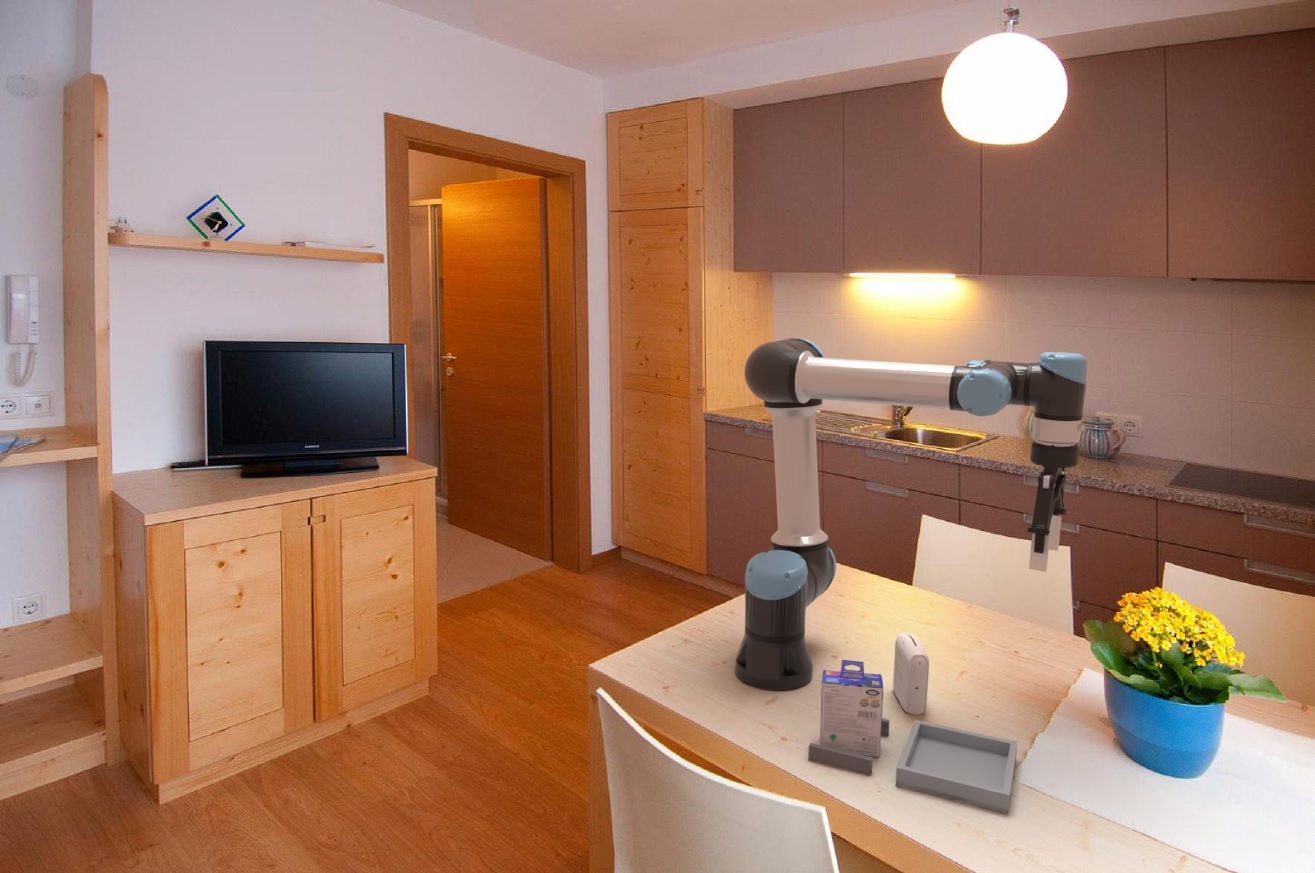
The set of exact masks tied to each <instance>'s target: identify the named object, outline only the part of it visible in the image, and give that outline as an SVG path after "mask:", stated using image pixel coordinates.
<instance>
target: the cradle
mask: <svg viewBox="0 0 1315 873" xmlns="http://www.w3.org/2000/svg"><path fill="white" fill-rule="evenodd" d="M890 722H891V720H890V719H887V718H883V717H882V729H881V736H886V737H888V736H889V735H890ZM807 759H808V761H811V762H816V763H819V764H823V765H827V766H830V767H835V768H838V769H842V770H843V769H844V770H847V771H852V772H856V773H860V774H863V775H868V776H872V774H873V763H874V758H873V756H865V755H860V754H855V753H851V752H847V751H843V750H839V749H835V748H831V747H827V746H822V745H820V744H818V743H813V742H809V745H808V757H807Z"/></svg>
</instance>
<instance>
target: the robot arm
mask: <svg viewBox="0 0 1315 873" xmlns="http://www.w3.org/2000/svg"><path fill="white" fill-rule="evenodd" d="M1087 360H1088V359H1087V358H1086V356H1084V355H1083V354H1081V353H1077V352H1075V353H1074V352H1063V351H1061V352H1060V351H1058V352H1056V351H1055V352H1054V351H1050V352H1049V351H1048V352H1047V351H1046V352H1042V353H1041V354H1040V355H1039V358H1038V360H1037V361H1038V362H1029V363H1027V362H1015V361H1014V362H1013V361H999V360H998V361H997V360H991V359H985V360H984V359H983V360H970V361H968V363H967V364H966V365H951V364H950V365H948V364H931V363H918V362H917V363H915V362H914V363H913V362H901V361H900V362H898V361H886V360H885V361H883V360H870V359H869V360H867V359H852V358H837V357H836V358H835V357H826V354H825V353H824V351H823V350H822V349H821V347H819V345H817V344H816V343H814V342H813V341H811V340H808V339H805V338H799V337H798V338H797V337H796V338H795V337H791V338H784V339H781V340H774V341H768V342H765V343H763V344H761V345H759V346H757V347H756V348H755V349H754V350H752V351H751V353H750V354H749V356H748V357H747V359H746V362H745V365H744V371H743V372H744V380H745V383H746V386H747V387H748V389H749V390H750V392H751V393H752V394H753V395H754V396H755V397H757V398H758V399H760V400H762V401H763V407H764V409H765V410H766V411H767V412H768V413H769V414H770V415H771V416H772V417H771V418H772V419H771V420H772V436H773V438H772V439H773V455H774V457H773V458H774V459H773V460H774V472H775V474H774V475H775V493H776V513H777V514H776V515H777V530H776V531H775V532H774V534H773V535H772V536H771V538H770V542H771V544H770V545H771V549H770V550H768V551H766V552H765V551H762V552H760V553H758V554H755V555H754V556H753V557H751V558H750V559H749V561H748V562H747V565H746V569H745V570H746V571H745V576H744V583H745V584H744V586H745V590H744V592H745V594H744V596H745V597H744V598H745V599H744V600H745V601H744V606H745V607H744V635H743V637H742V640H741V642H740V646H739V649H738V651H737V654H736V657H735V663H734V664H735V666H734V667H735V668H734V670H735V675H736V677H737V678H738V679H739V680H740V681H742V682H743V683H745V684H748V685H749V686H752V687H754V688H759V689H763V690H771V691H788V690H794V689H799V688H801V687H804V686H806V685H807V684H809V683H810V682H811V680H812V678H813V676H814V674H813V670H814V669H813V668H814V664H813V659H812V657H811V654H810V651H809V647H808V644H807V641H806V637H805V636H806V612H807V611H806V610H807V608H808V607H809V605H811V604H812V603H813V602H814V601H815V600H816V599H817V598H819V597H820V596H822V595H823V594H824V593H825V592H826V591H827V590H828V589H829V587H830V586H831V585H832V582H833V581H834V578H835V576H836V572H837V559H836V557H835V555H834V552H833V550H832V549H831V548H830V547H829V535H828V534H827V533H826V532H825V531H823V529H821V522H820V520H821V519H820V498H819V497H820V496H819V474H818V472H819V471H818V454H817V453H818V450H817V449H818V448H817V447H818V446H817V428H816V427H817V426H816V425H817V424H816V413H817V412H818V410H819V409H820V408H821V407H822V406H823V400H826V401H827V400H829V401H838V402H839V401H840V402H852V403H865V404H873V405H874V404H877V405H888V406H889V405H890V406H899V407H900V406H901V407H910V408H911V407H913V408H925V409H927V408H928V409H937V410H946V411H947V410H950V411H957V412H967V413H969V414H970V415H971V416H976V417H987V416H988V417H989V416H993V415H996V414H998V413H999V412H1001V411H1002V410H1003V409H1004V408H1005V407H1007V405H1010V406H1025V407H1034V415H1033V423H1032V432H1031V438H1032V439H1033V440H1034V441H1032V442H1031V447H1030V457H1029V458H1030V459H1029V460H1030V462H1031V463H1032V464H1034V465H1037V466H1041V467H1043V470H1042V471H1041V472H1040V474H1039V475H1038V477H1037V490H1036V497H1035V503H1034V510H1033V515H1032V522H1031V527H1027V533H1030V534H1031V544H1030V551H1029V552H1030V554H1029V565H1028V570H1034V571H1039V572H1047V570H1048V559H1049V550H1050V551H1056V552H1057V551H1059V546H1060V536H1061V527H1062V517H1063V516H1066V515H1067V510H1068V509H1066V508H1065V482H1066V480H1067V476H1066V469H1071V468H1075V467H1077V465H1078V463H1079V452H1080V446H1079V445H1078V444H1077V443H1079V442H1080V439H1081V432H1084V431H1085V430H1086V427H1085V425H1083V424H1082V425H1081V423H1082V419H1083V412H1084V405H1085V404H1084V403H1085V398H1086V396H1085V395H1086V386H1087V374H1088V373H1087V371H1088V361H1087Z"/></svg>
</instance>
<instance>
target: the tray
mask: <svg viewBox="0 0 1315 873" xmlns="http://www.w3.org/2000/svg"><path fill="white" fill-rule="evenodd" d="M1017 752H1018V741H1013V740H1009V739H1004V738H1000V737H996V736H991V735H986V734H981V733H977V732H972V731H968V730H965V729H964V730H963V729H958V728H954V727H949V726H946V725H940V724H937V723H932V722H926V721H923V720H917V719H914V722H913V724H912V727H911V730H910V732H909V735H908V737H907V739H906V743H905V745H904V747H903V750H902V752H901V755H900V758H899V760H898V763H897V765H896V771H895V786H896V787H900V788H903V787H904V789H907V790H911V789H912V791H915V792H920V793H923V792H924V793H923V794H927V795H932V796H936V797H940V798H944V799H948V800H950V801H951V800H952V801H954V800H956V801H955V802H958V801H959V803H963V804H966V803H967V804H966V805H970V806H975V807H979V808H983V809H986V810H990V809H991V811H994V810H995V811H994V812H997V813H1002V812H1004V813H1003V814H1006V813H1008V814H1009V811H1010V803H1011V797H1012V789H1013V783H1014V776H1015V769H1016V768H1015V767H1016V762H1017Z"/></svg>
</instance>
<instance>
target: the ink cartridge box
mask: <svg viewBox="0 0 1315 873" xmlns="http://www.w3.org/2000/svg"><path fill="white" fill-rule="evenodd" d="M847 666H855V667H858V668H860V669H859V670H855V669H846V667H847ZM864 666H865V664H864V661H859V660H858V661H857V660H850V659H849V660H848V659H841V666H840V667H841V669H840V670H825V669H824V670H822V675H821V676H822V678H821V689H820V691H821V692H820V693H821V694H820V695H821V696H820V727H819V728H820V729H819V730H820V731H819V735H820V736H819V745H822V746H827V747H831V748H835V749H839V750H843V751H847V752H851V753H855V754H860V755H864V756H868V757H876V758H879V757H880V755H881V754H880V753H881V740H882V735H881V729H882V718H883V707H884V706H883V705H884V682H883V676H882V674H881V673H869V672H865V668H864Z"/></svg>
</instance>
